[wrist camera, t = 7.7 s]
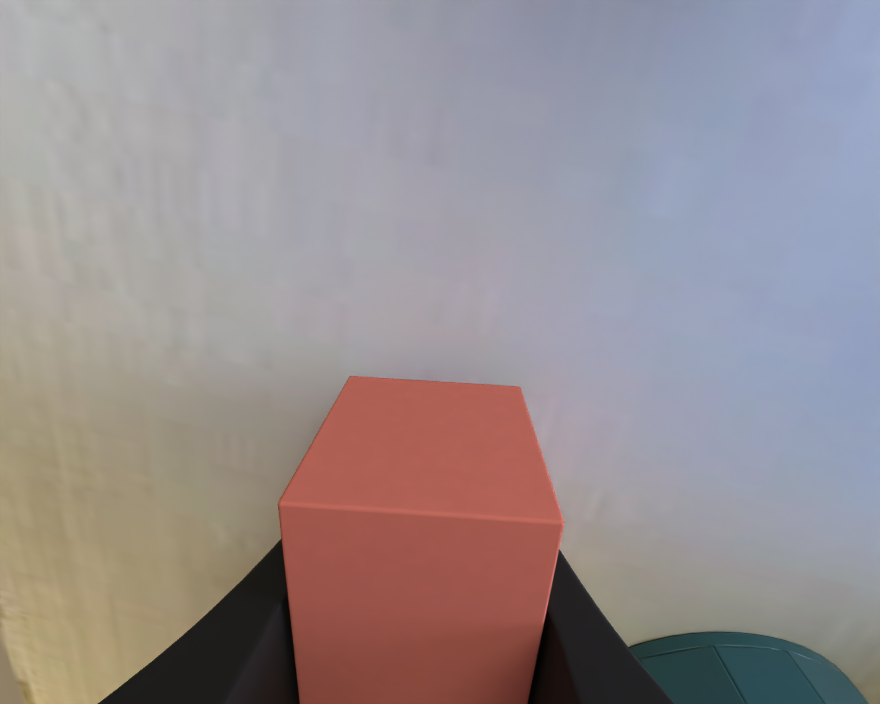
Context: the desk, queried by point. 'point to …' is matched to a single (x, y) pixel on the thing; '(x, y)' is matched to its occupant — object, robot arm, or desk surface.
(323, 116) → the desk surface
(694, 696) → the tin
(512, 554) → the eraser
